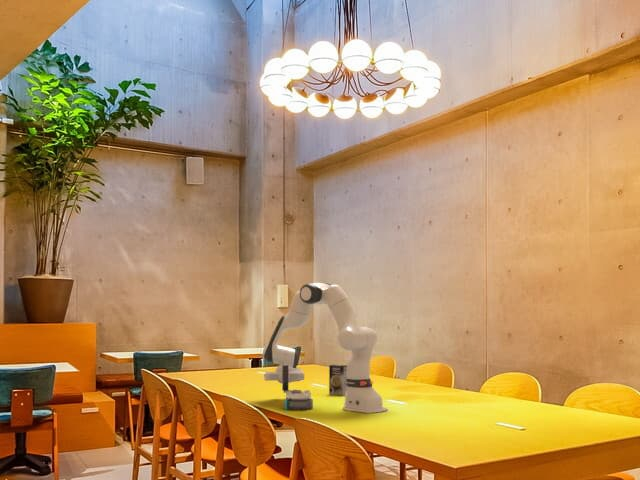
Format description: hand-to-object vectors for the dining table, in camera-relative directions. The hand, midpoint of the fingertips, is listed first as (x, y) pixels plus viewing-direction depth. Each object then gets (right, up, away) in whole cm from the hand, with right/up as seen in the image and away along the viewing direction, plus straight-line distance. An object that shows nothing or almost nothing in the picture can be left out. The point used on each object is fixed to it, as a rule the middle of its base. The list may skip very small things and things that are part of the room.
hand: (284, 377), depth 329 cm
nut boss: (+7, -13, -6) cm, 16 cm away
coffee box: (+28, -18, +40) cm, 52 cm away
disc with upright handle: (+6, -9, -5) cm, 12 cm away
